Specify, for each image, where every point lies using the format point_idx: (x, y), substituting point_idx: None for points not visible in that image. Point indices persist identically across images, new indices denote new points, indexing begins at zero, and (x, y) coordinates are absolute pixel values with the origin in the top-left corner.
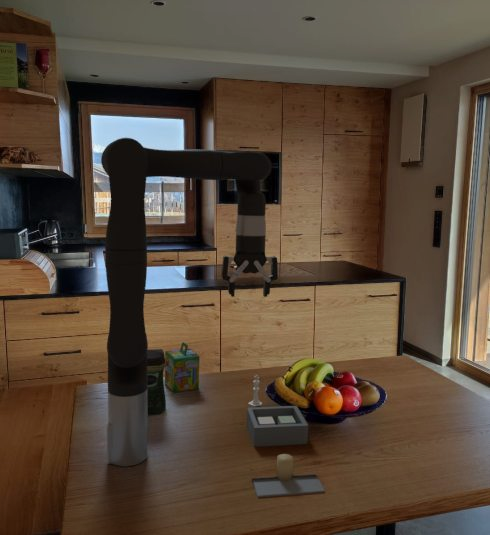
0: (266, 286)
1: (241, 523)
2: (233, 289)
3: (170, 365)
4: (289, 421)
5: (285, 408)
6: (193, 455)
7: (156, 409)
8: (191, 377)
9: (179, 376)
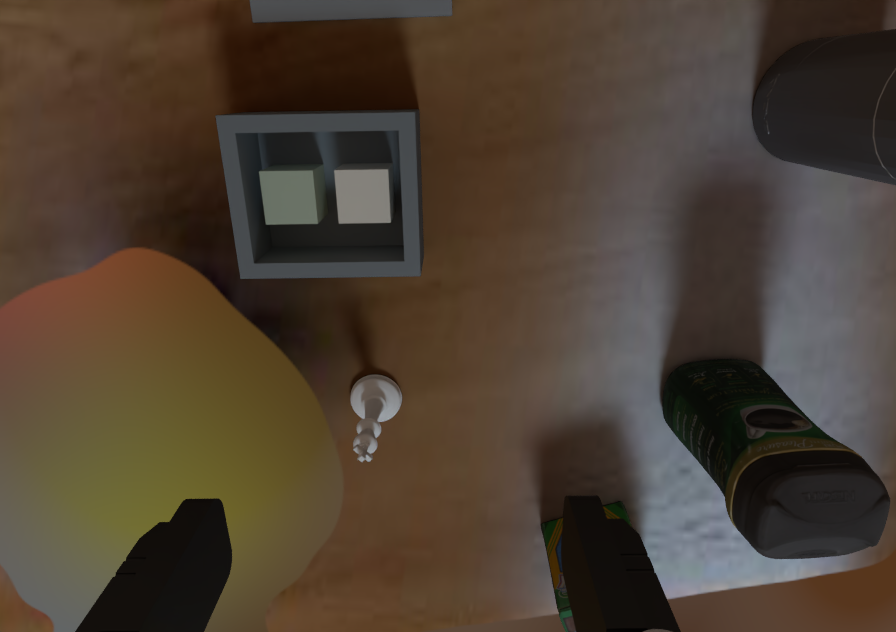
0: (143, 586)
1: None
2: (598, 550)
3: None
4: (281, 179)
5: (283, 262)
6: (611, 93)
7: (701, 366)
8: None
9: None
